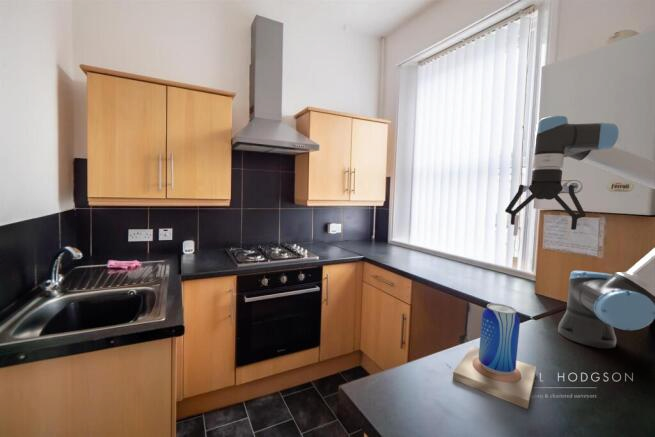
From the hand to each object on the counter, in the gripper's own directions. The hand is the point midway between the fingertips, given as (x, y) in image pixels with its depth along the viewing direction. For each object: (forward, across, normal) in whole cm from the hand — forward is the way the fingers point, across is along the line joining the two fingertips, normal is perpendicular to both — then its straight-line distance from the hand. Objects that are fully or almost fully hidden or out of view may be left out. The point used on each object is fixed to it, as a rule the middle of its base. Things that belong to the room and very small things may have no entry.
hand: (540, 237), depth 95 cm
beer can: (+32, -5, -28) cm, 43 cm away
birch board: (+35, -5, -28) cm, 45 cm away
